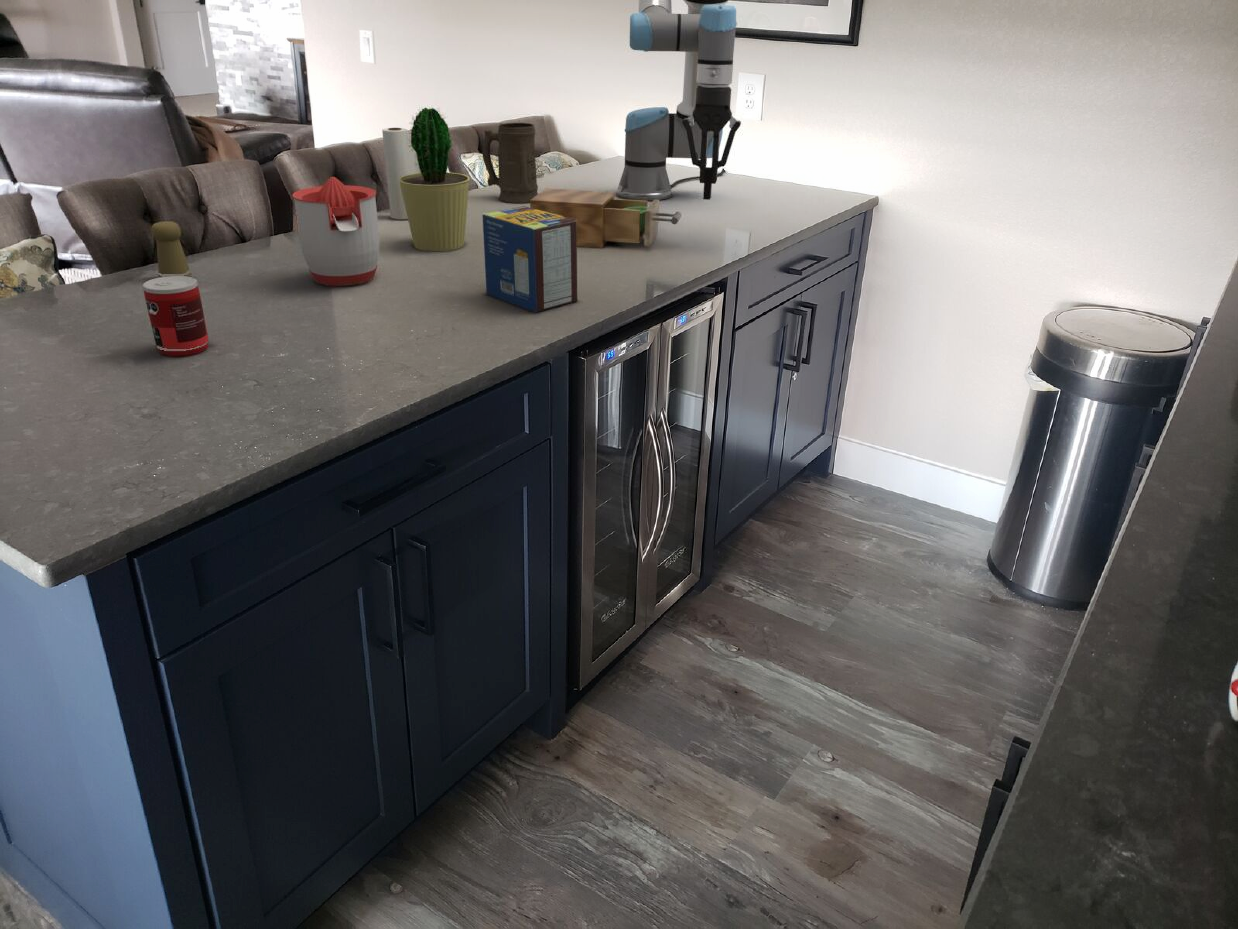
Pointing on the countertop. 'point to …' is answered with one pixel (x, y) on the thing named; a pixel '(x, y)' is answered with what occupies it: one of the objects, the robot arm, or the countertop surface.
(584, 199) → the cabinet
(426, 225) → the potted cactus
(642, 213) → the ramekin
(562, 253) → the protein box
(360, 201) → the citrus juicer
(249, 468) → the countertop surface
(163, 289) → the canned food
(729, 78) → the robot arm
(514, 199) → the beer stein
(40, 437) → the countertop surface
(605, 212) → the wooden drawer
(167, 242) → the cork
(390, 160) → the paper towel roll
